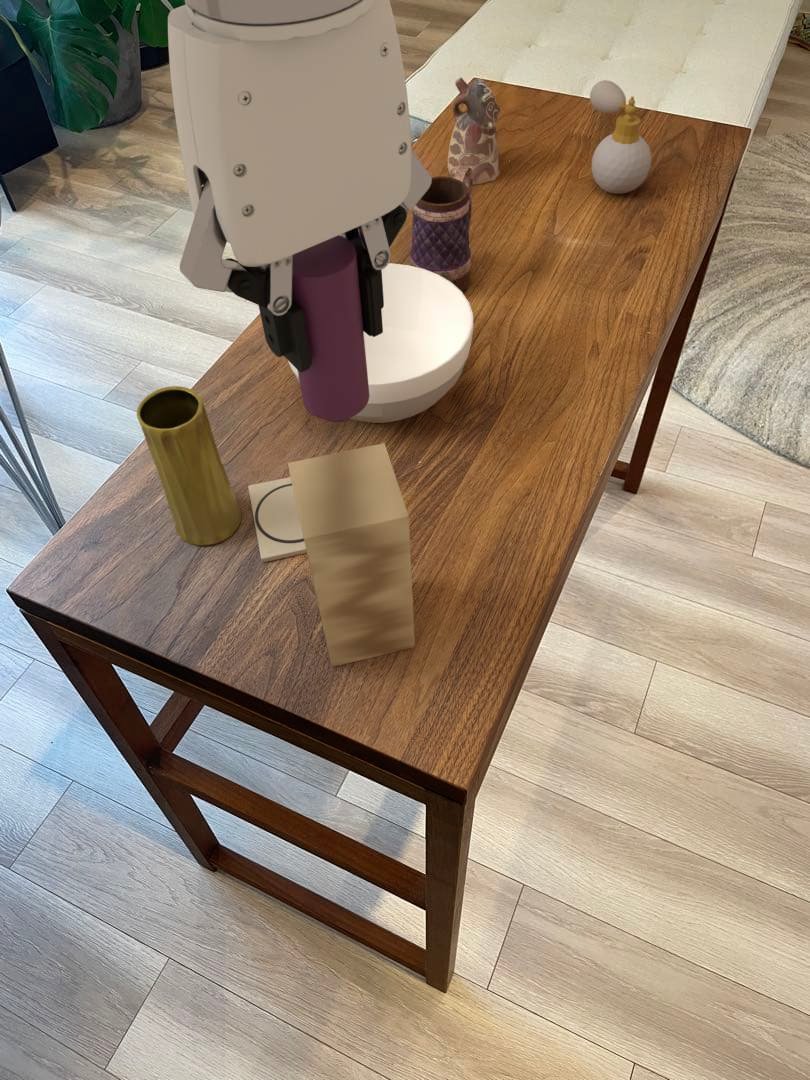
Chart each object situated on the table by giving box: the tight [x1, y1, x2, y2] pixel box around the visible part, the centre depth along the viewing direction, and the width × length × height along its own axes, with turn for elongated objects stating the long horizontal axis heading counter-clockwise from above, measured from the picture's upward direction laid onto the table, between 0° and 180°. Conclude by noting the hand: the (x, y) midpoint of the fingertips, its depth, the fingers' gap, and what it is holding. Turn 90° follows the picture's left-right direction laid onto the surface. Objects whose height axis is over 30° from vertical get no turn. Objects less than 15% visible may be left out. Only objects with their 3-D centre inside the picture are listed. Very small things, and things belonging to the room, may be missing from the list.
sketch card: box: [247, 476, 307, 563], centre depth 77 cm, size 11×9×1 cm
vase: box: [136, 385, 242, 547], centre depth 72 cm, size 6×6×14 cm
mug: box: [409, 164, 474, 293], centre depth 95 cm, size 10×7×12 cm
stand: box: [287, 442, 416, 668], centre depth 63 cm, size 7×7×17 cm
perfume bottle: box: [589, 79, 652, 195], centre depth 106 cm, size 8×10×12 cm
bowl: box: [287, 262, 475, 424], centre depth 84 cm, size 19×19×9 cm
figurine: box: [447, 77, 501, 186], centre depth 109 cm, size 7×7×12 cm
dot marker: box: [292, 234, 369, 423], centre depth 46 cm, size 4×4×11 cm
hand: (327, 337), depth 46 cm, fingers closed on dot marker, 4 cm apart
